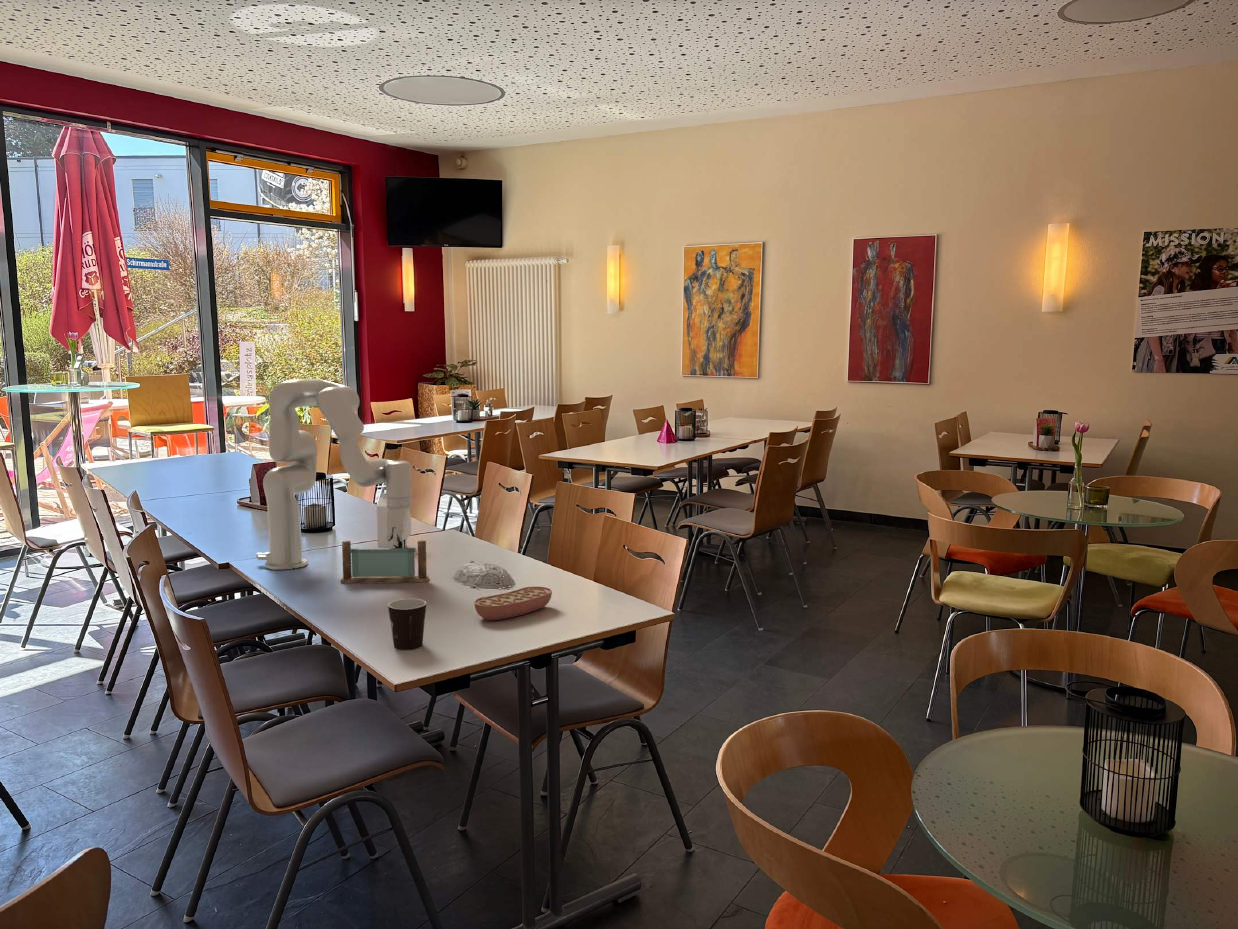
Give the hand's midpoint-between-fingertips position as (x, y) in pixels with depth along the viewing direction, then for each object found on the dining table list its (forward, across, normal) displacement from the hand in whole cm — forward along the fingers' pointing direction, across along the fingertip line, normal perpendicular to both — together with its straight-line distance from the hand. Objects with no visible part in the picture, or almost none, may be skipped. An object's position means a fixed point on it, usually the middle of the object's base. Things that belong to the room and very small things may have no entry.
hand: (400, 562), depth 262 cm
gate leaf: (+3, +5, -4) cm, 7 cm away
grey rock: (+5, +2, +26) cm, 26 cm away
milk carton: (+5, -40, -16) cm, 43 cm away
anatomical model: (+5, +34, +41) cm, 54 cm away
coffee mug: (+5, +62, +20) cm, 66 cm away
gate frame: (+5, +5, -3) cm, 8 cm away
